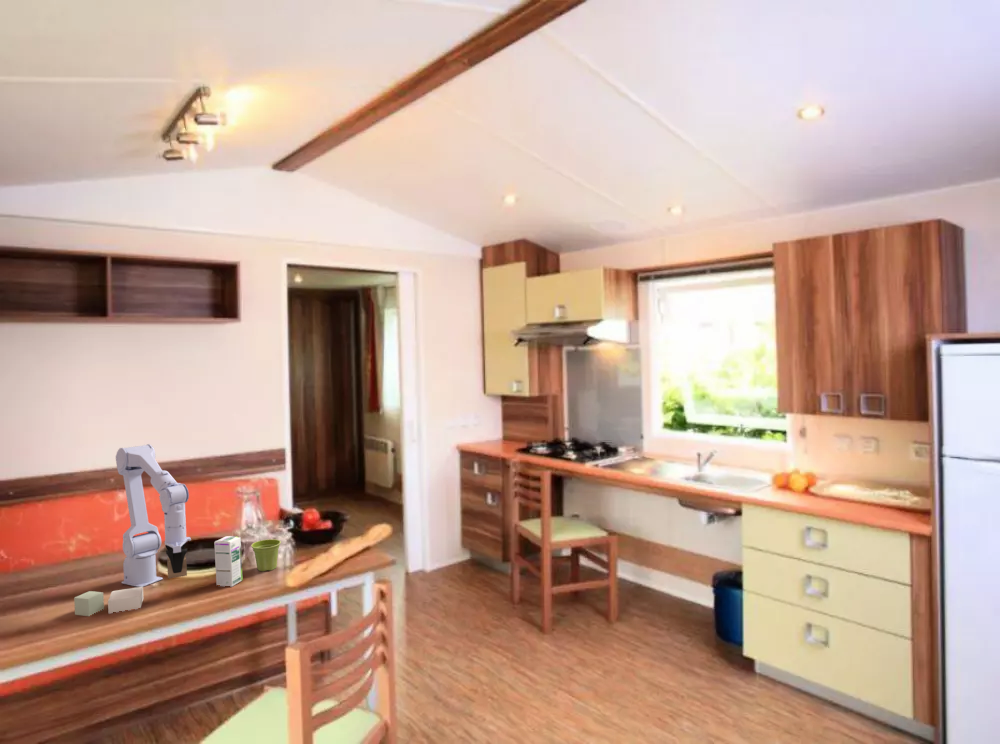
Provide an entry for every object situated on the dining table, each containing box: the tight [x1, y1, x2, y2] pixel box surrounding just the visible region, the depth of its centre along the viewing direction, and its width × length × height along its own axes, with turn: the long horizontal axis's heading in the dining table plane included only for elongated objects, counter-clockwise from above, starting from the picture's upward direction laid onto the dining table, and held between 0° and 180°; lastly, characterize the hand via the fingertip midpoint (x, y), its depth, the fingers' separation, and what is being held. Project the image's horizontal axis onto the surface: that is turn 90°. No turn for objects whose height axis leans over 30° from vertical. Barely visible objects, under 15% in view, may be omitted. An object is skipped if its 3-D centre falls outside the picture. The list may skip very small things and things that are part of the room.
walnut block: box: [166, 554, 188, 580], centre depth 195 cm, size 5×5×5 cm
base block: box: [107, 586, 144, 614], centre depth 189 cm, size 8×8×4 cm
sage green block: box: [73, 590, 105, 617], centre depth 185 cm, size 5×5×5 cm
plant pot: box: [250, 538, 282, 572], centre depth 219 cm, size 9×9×9 cm
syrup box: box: [214, 535, 244, 588], centre depth 206 cm, size 6×6×14 cm
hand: (177, 569), depth 195 cm, fingers closed on walnut block, 5 cm apart
